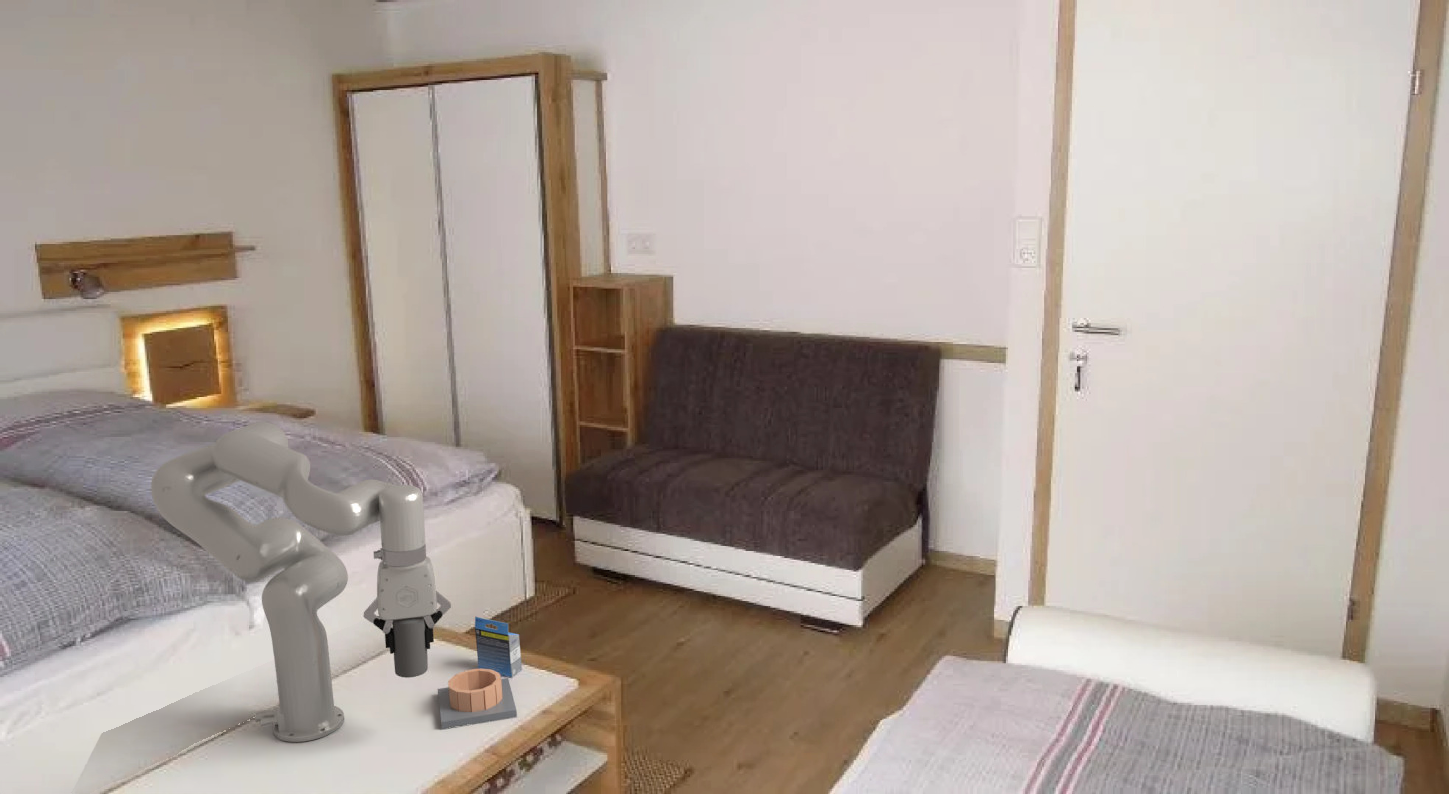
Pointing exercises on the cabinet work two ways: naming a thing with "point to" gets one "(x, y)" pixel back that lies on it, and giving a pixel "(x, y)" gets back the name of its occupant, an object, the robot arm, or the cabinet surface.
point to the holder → (475, 698)
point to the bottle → (410, 647)
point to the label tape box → (497, 647)
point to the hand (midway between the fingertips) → (410, 647)
